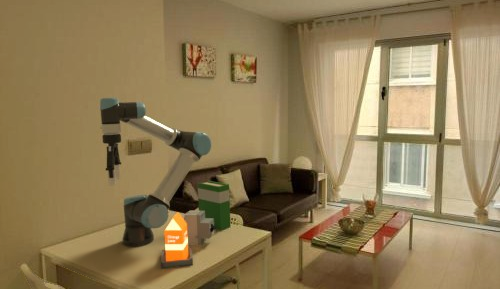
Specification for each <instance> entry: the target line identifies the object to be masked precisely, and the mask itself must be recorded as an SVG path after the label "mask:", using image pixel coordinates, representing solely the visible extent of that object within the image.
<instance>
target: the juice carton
mask: <svg viewBox="0 0 500 289" xmlns="http://www.w3.org/2000/svg"><path fill="white" fill-rule="evenodd" d="M185 221H186V220H185ZM185 221H184V217H182V216H181V214H180V213H179V212H177V213H175V214H174V216H173V217H172V219H171V220H170V221H169V223H168V225H167V226H166V228H165V229H164V250H166V261H174V260H183V259H187V257H188V247H189V245H188V236H187V223H186V222H185Z"/></svg>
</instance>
